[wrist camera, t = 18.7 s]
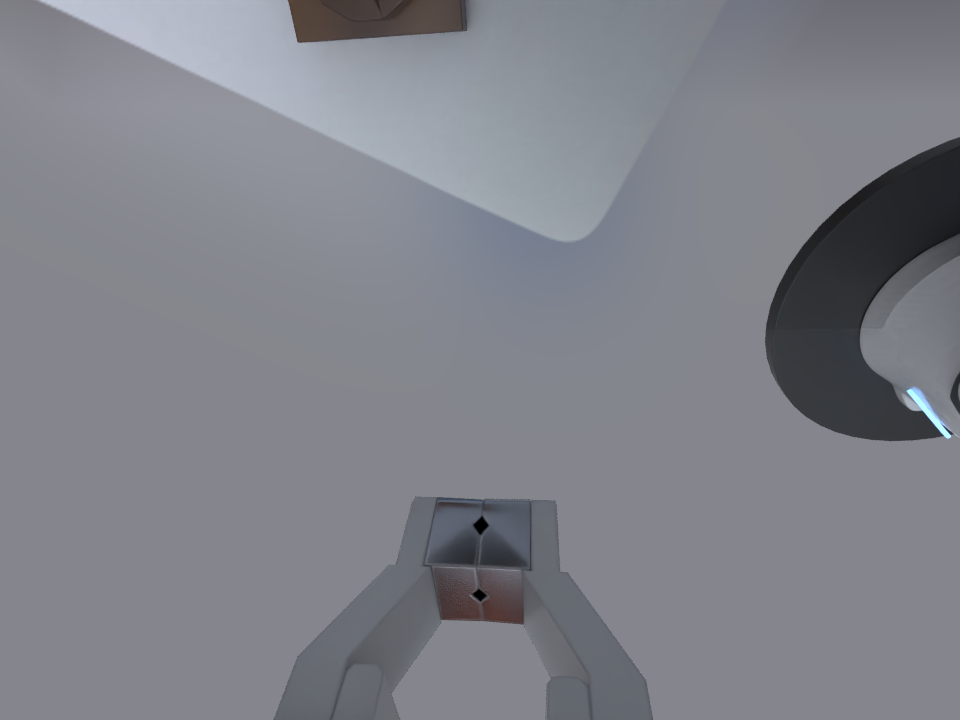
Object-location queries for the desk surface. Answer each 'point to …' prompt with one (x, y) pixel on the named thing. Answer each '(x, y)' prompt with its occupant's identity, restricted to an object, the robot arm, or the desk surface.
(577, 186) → the desk surface
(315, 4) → the button box
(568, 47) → the desk surface
